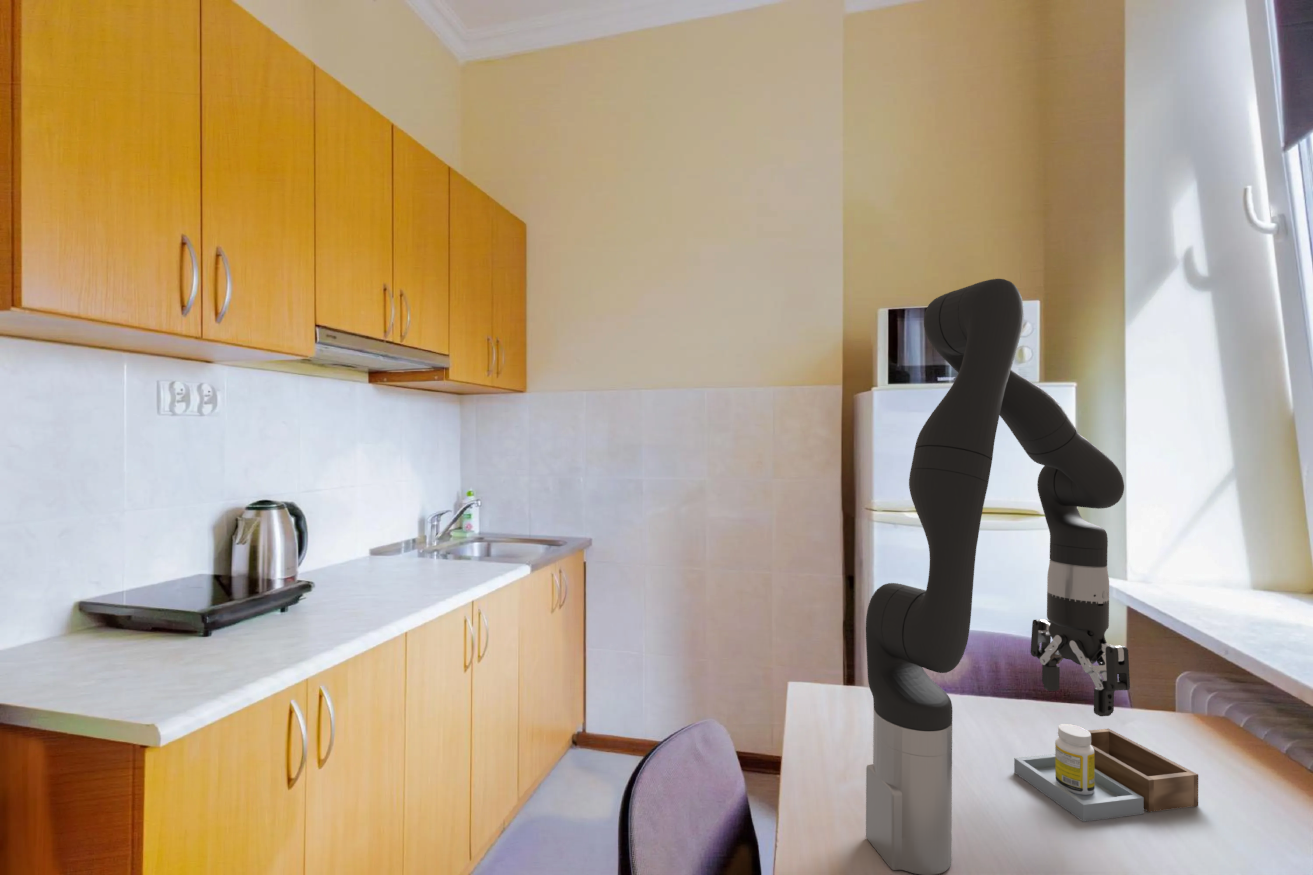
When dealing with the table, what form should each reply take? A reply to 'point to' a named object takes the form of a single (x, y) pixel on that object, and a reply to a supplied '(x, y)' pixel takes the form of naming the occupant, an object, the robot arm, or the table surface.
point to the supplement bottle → (1074, 759)
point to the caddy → (1144, 772)
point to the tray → (1098, 805)
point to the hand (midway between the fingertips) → (1075, 701)
